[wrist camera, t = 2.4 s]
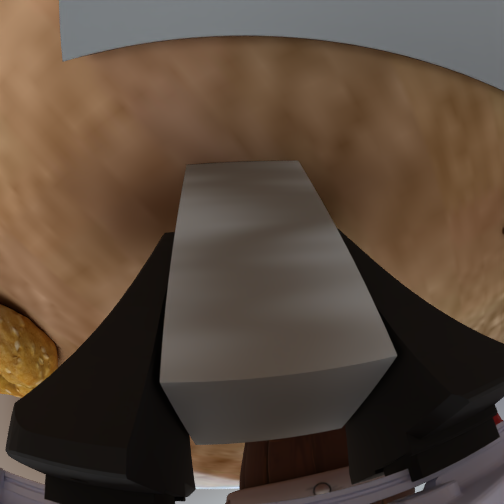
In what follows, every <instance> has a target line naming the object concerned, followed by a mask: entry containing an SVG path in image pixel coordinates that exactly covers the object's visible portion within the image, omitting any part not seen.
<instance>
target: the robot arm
mask: <svg viewBox="0 0 504 504" xmlns="http://www.w3.org/2000/svg"><path fill="white" fill-rule="evenodd" d="M337 230H338V232H339V233H340V235H341V237H342V239H343V241H344V243H345V245H346V247H347V249H348V251H349V253H350V255H351V257H352V259H353V260H354V262H355V264H356V266H357V268H358V270H359V272H360V275H361V277H362V279H363V281H364V283H365V285H366V287H367V289H368V291H369V293H370V295H371V297H372V299H373V302H374V304H375V306H376V308H377V310H378V312H379V315H380V317H381V319H382V321H383V323H384V326H385V328H386V330H387V333H388V335H389V337H390V339H391V342H392V344H393V346H394V349H395V351H396V354H397V357H396V358H395V360H394V361H393V363H392V364H391V366H390V367H389V368H388V370H387V371H386V373H385V374H384V375H383V377H382V378H381V379H380V381H379V382H378V384H377V385H376V386H375V387H374V389H373V390H372V391H371V393H370V394H369V395H368V397H367V398H366V399H365V400H364V402H363V403H362V404H361V405H360V407H359V408H358V409H357V410H356V412H355V413H354V414H353V415H352V416H351V418H350V419H349V420H348V421H347V422H346V423H345V429H346V437H347V448H348V461H349V475H350V479H351V484H352V485H353V484H357V483H360V482H364V481H367V480H370V479H374V478H377V477H380V476H383V475H385V477H383V478H380V479H376V480H373V481H370V482H367V483H363V484H360V485H356V486H353V487H349V488H345V489H341V490H337V491H333V492H329V493H324V494H319V495H314V496H309V497H304V498H298V499H292V500H286V501H279V502H271V503H262V504H370V503H373V502H376V501H379V500H382V499H385V498H388V497H391V496H393V495H396V494H399V493H401V492H404V491H406V490H409V489H411V488H414V487H416V486H419V485H421V484H423V483H425V482H426V484H425V487H424V489H423V490H422V491H420V492H417V493H414V494H411V495H408V496H405V497H403V498H400V499H397V500H395V501H392V502H390V503H387V504H504V421H502V422H500V423H499V424H497V425H496V424H495V422H494V419H493V417H494V416H495V415H497V409H496V407H495V403H497V402H498V401H499V400H500V399H502V398H503V397H504V344H503V343H501V342H498V341H496V340H494V339H491V338H489V337H487V336H485V335H483V334H481V333H479V332H477V331H475V330H473V329H471V328H469V327H467V326H465V325H464V324H462V323H460V322H458V321H456V320H455V319H453V318H451V317H450V316H448V315H446V314H445V313H443V312H442V311H440V310H438V309H437V308H435V307H434V306H432V305H431V304H429V303H428V302H426V301H425V300H423V299H422V298H421V297H419V296H418V295H416V294H415V293H414V292H412V291H411V290H409V289H408V288H407V287H405V286H404V285H403V284H401V283H400V282H399V281H398V280H396V279H395V278H394V277H393V276H392V275H390V274H389V273H388V272H387V271H385V270H384V269H383V268H382V267H381V266H379V265H378V264H377V263H376V262H375V261H374V260H373V259H371V258H370V257H369V256H368V255H367V254H366V253H365V252H363V251H362V250H361V249H360V248H359V247H358V246H357V245H356V244H355V243H353V242H352V241H351V240H350V239H349V238H348V237H347V236H346V235H344V234H343V233H342V232H341V231H340V230H339V229H338V228H337ZM174 236H175V232H170V233H165V234H164V235H163V236H162V238H161V239H160V241H159V243H158V244H157V246H156V247H155V249H154V251H153V252H152V254H151V256H150V257H149V259H148V260H147V262H146V263H145V265H144V266H143V268H142V269H141V271H140V272H139V274H138V275H137V277H136V279H135V280H134V281H133V283H132V284H131V286H130V287H129V288H128V290H127V291H126V292H125V294H124V295H123V297H122V298H121V299H120V301H119V302H118V303H117V305H116V306H115V307H114V309H113V310H112V311H111V312H110V314H109V315H108V316H107V317H106V318H105V320H104V321H103V322H102V323H101V324H100V326H99V327H98V328H97V329H96V330H95V331H94V332H93V333H92V334H91V336H90V337H89V338H88V339H87V340H86V341H85V342H84V343H83V344H82V345H81V346H80V347H79V348H78V349H77V350H76V352H75V353H74V354H73V355H71V356H70V357H69V358H68V359H67V360H66V361H65V362H64V363H63V364H62V365H61V366H60V367H59V368H58V369H56V370H55V371H54V372H53V373H52V374H51V375H50V376H49V377H47V378H46V379H45V380H44V381H43V382H41V383H40V384H39V385H38V386H36V387H35V388H34V389H33V390H31V391H30V392H29V393H27V394H26V395H25V396H24V397H22V398H21V399H20V400H18V401H17V402H16V403H15V404H14V408H13V412H12V416H11V421H10V426H9V432H8V438H7V444H6V452H7V454H8V455H9V456H10V457H11V458H13V459H15V460H16V461H18V462H20V463H22V464H24V465H26V466H28V467H30V468H32V469H35V470H37V471H39V472H42V473H44V474H46V479H45V484H41V483H38V482H35V481H32V480H29V479H26V478H23V477H21V476H18V475H15V474H12V473H10V472H7V471H5V470H3V469H2V468H0V504H175V501H185V497H188V496H189V495H190V494H191V493H192V492H193V491H194V490H195V482H194V475H193V467H192V458H191V448H190V437H189V433H188V432H187V430H186V428H185V427H184V425H183V423H182V422H181V420H180V418H179V416H178V415H177V413H176V411H175V410H174V408H173V406H172V404H171V402H170V401H169V399H168V397H167V395H166V393H165V392H164V390H163V388H162V386H161V384H160V368H161V354H162V341H163V329H164V318H165V308H166V299H167V290H168V281H169V273H170V265H171V258H172V250H173V243H174Z"/></svg>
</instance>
